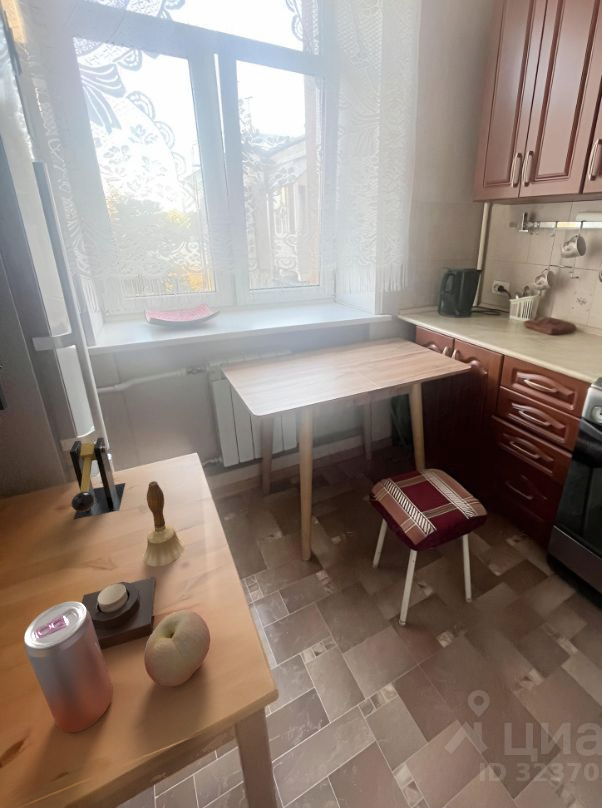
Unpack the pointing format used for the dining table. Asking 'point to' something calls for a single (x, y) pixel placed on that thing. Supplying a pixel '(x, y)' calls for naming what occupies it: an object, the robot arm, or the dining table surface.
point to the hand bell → (160, 532)
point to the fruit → (176, 648)
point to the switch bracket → (110, 493)
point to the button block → (124, 614)
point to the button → (112, 598)
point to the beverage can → (69, 665)
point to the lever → (85, 480)
